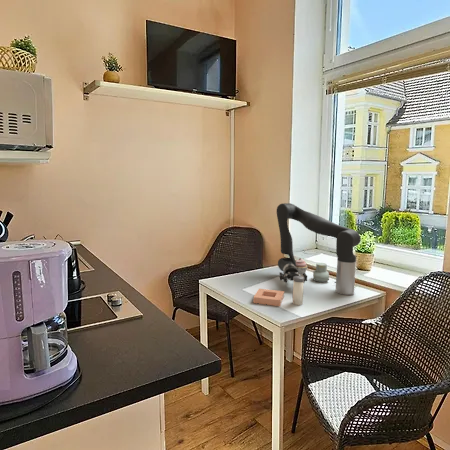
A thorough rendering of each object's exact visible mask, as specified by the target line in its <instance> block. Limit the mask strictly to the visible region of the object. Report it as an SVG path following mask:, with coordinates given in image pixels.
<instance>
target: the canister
mask: <svg viewBox="0 0 450 450" xmlns="http://www.w3.org/2000/svg"><path fill="white" fill-rule="evenodd" d="M292 282H293V284H292V285H293V287H292V304H293V305H295V306H302V305H304V304H303V303H304V302H303V301H304V300H303V299H304V284H305V282H304V277H302V276H294V277H293V281H292Z"/></svg>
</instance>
